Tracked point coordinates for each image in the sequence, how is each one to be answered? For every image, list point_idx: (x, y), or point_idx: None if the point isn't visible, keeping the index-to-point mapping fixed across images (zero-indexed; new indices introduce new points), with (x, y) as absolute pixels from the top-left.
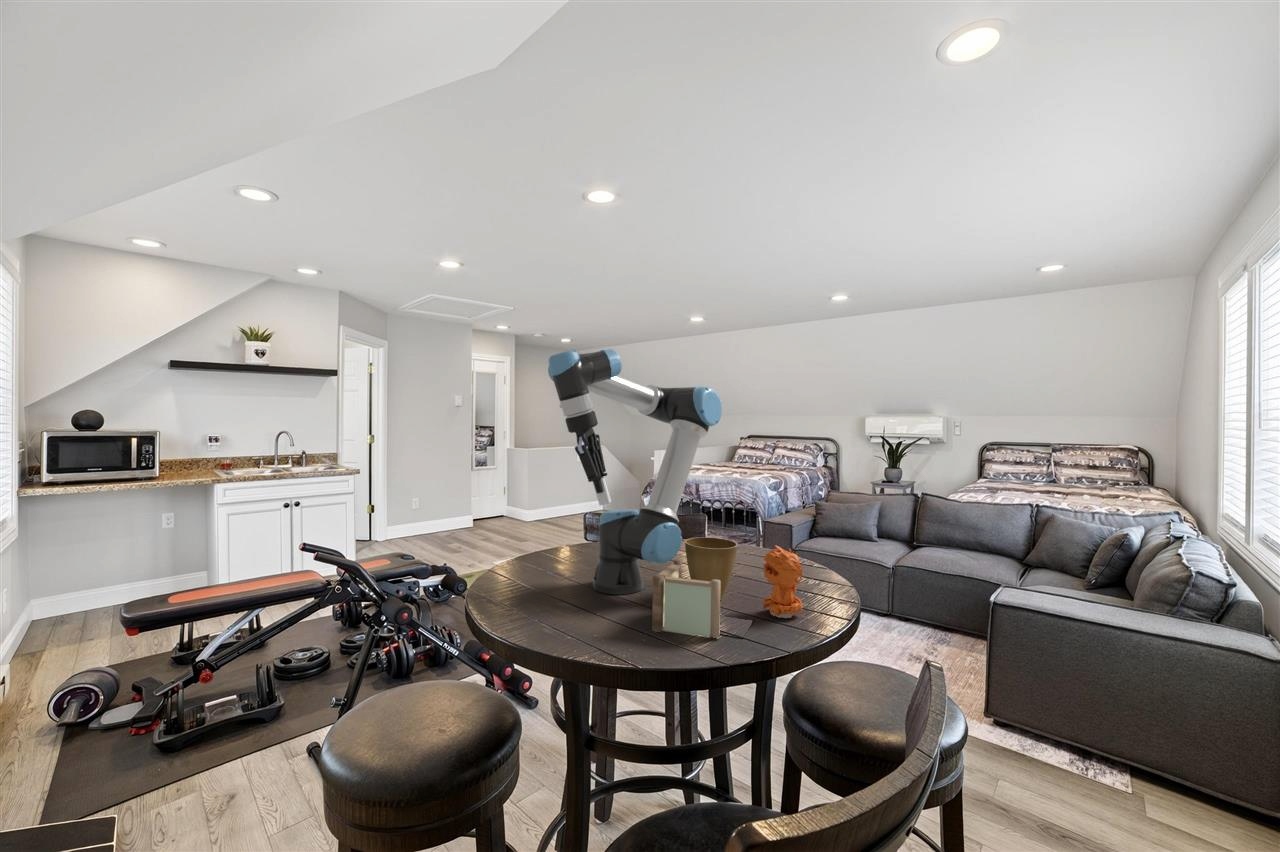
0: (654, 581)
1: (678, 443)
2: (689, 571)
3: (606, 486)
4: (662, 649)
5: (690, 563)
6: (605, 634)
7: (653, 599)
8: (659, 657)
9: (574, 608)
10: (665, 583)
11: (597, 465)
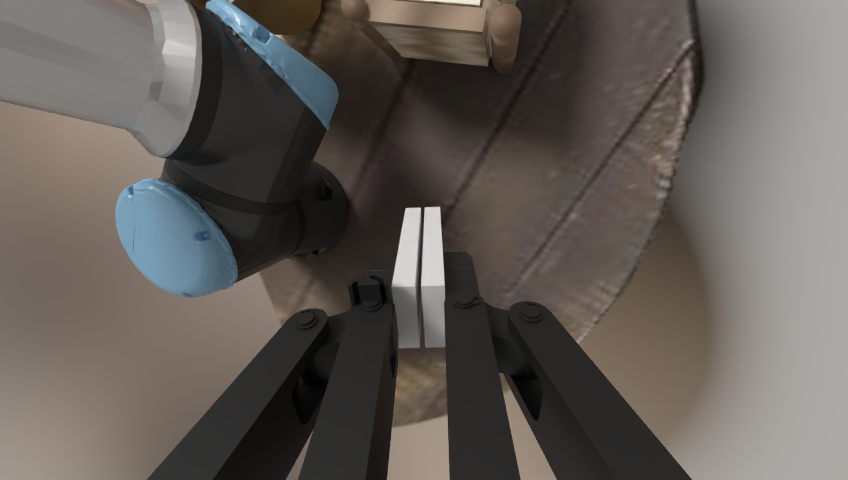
0: (517, 34)
1: None
2: (281, 24)
3: (407, 249)
4: (596, 24)
5: (278, 7)
6: (545, 157)
7: (513, 51)
8: (637, 18)
9: None
10: (514, 2)
11: (466, 389)
